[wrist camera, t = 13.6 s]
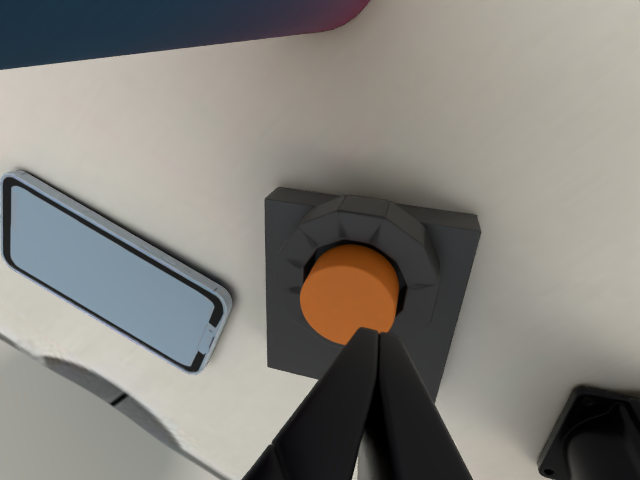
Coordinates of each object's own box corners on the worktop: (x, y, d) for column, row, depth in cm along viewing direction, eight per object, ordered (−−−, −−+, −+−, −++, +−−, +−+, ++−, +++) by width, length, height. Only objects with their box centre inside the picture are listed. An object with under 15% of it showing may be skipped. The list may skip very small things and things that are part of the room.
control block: (433, 383, 21) (433, 440, 18) (278, 346, 23) (253, 392, 20) (481, 198, 16) (492, 233, 13) (277, 171, 18) (245, 196, 15)
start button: (392, 326, 16) (388, 355, 15) (310, 309, 17) (298, 335, 15) (405, 252, 14) (402, 275, 13) (314, 236, 15) (300, 257, 14)
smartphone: (-1, 165, 21) (232, 300, 20) (16, 161, 22) (240, 291, 21) (0, 263, 25) (197, 380, 24) (14, 256, 26) (205, 370, 25)
